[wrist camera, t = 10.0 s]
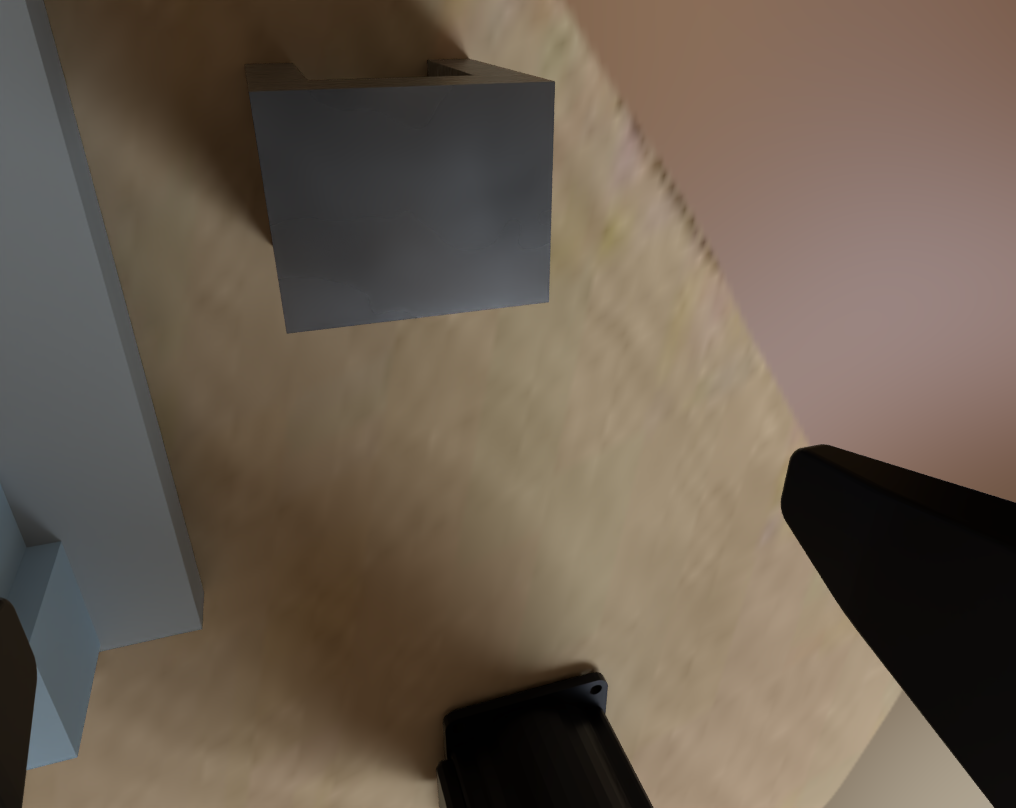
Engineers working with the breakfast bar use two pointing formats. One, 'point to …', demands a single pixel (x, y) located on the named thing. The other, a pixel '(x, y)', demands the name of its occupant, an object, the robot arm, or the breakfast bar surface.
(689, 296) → the breakfast bar surface
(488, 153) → the dark grey block
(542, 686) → the robot arm
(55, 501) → the vise
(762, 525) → the breakfast bar surface
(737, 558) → the breakfast bar surface
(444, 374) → the breakfast bar surface
